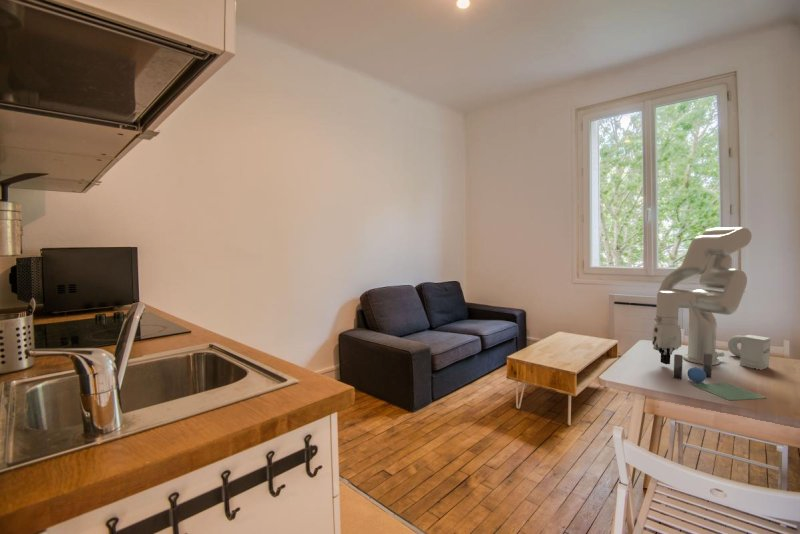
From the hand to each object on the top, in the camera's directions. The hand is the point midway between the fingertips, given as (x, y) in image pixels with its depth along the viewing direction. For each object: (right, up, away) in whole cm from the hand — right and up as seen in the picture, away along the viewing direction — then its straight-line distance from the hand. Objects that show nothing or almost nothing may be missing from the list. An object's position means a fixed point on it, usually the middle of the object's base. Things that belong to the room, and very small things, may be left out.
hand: (665, 363), depth 160 cm
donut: (+43, -1, +12) cm, 45 cm away
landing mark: (+3, -3, -27) cm, 27 cm away
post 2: (+8, -2, -12) cm, 15 cm away
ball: (-1, 0, -18) cm, 18 cm away
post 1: (-5, -2, -14) cm, 15 cm away
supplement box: (+37, -2, 0) cm, 37 cm away
